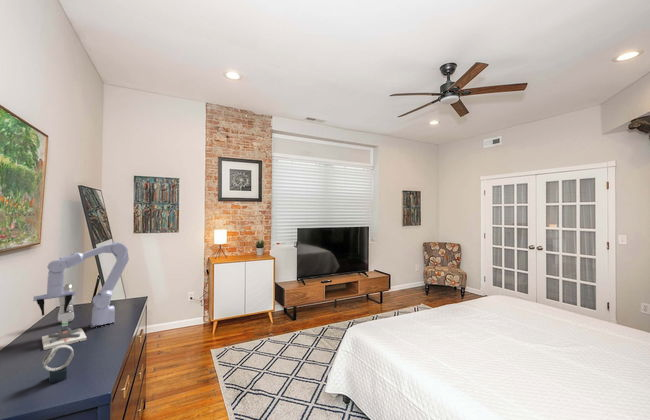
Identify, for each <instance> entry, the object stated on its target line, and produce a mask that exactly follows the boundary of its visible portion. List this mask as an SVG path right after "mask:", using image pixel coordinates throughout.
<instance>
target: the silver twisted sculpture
mask: <svg viewBox="0 0 650 420" xmlns="http://www.w3.org/2000/svg"><path fill="white" fill-rule="evenodd" d="M70 291H74V289H73V285H72V284H71V283H70V284H64V286H63V292H70ZM75 296H76V294H75V295H74V296H72V299H71V301H70V302H69V304H68V307H67V310H66V311H69V310H71V311H72V318H71V319H68V323H69V322H72V321H73V320H74V319H75V312H74V301H75ZM58 301H59V309H58V310H59V311H58V312H63V311H64V305H65V297H58ZM57 321H58V323H59V324H60V323H61V324H62V320H60V321H59V319H58V318H57Z"/></svg>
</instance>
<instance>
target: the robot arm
mask: <svg viewBox="0 0 650 420" xmlns="http://www.w3.org/2000/svg"><path fill="white" fill-rule="evenodd" d="M104 253H105V254H112V255H114V257H115V259H116V261H115V263H114V265H113V267H112V268H111V271H110V273H109V274H108V276H107V278H106V280H105V282H104V284H103V285H102V287H101V289H100V290H99V291H98V292H97V294H96V295H94V296H93V298H92V300H91V301H92V304H93V307H92V309H91V314H92V315H91V323H92V325H93V326H95V325H103V324H107V323H112V322H115V318H116V316H115V315H116V309H115V306H114V305H110V304H111V298H112V296H113V291H114V289H115V286H116V285H117V284H118V281H119V279H120V278H121V275H122V273H123V272H124V271H125V268H126V266H127V264H128V262H129V260H130V257H129V249H128V247H127V245H126V244H124V243H123V242H119V241H113V242H110V243H106V244H103V245H100V246H98V247H95V248H93V249H90V250H88V251H85V252H82V253H81V252H71V254H69V255H66V256H64V257H59V258H58V259H53V260H52V261H50V262H49V263H48V265H47V269H48V275H47V285H46V287H47V288H46V294H41V295H35V296H34V295H33V300H32V301H33V302H36V304H37V305H38V306H39V309H40V311H41V316H42V317H43V316H45V300H52V299H59V297H65V305H64V311H66V310H67V307H68V304H69V302H70V301H71V299H72V296H74V295H75V296H76V291H75V290H73V291H70V292H63V286H64V285H65V284H64V283H65V282H64V281H65V273H64V270H65V269H69V268H71V267H75V266H77V265H80V264H83V263H84V261H85V260H86V259H88V258H92V257H95V256H98V255H100V254H104Z"/></svg>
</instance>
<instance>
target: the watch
mask: <svg viewBox="0 0 650 420" xmlns="http://www.w3.org/2000/svg"><path fill="white" fill-rule="evenodd" d="M59 349H69V350H70V354H69V357H68V358H67V360H66V361H65V363H64V364H62V365H57V366H54V367H50V366H48V364H49V363H50V362H51V361H52V360H53V358H54V357H55V355H56V353H57V351H58V350H59ZM74 355H75V353H74V349H73V347H72V346H71V345H69V344H67V345H60V346H56V347H55V348H51V349H49V351H47V353H46V355H45V356H44V358H43V360H42V362H41V364H42V365H43V368H44V369H45V370H46V371H48V373H49V376H48V379H49V380H48V381H49V383H48V384H49V385H50V384H54V383H57V382H60V380H61V381H65V380H67V373H68V371H67V370H68V367H67V366H68V365H69V364H70V363H71V361H72V360H73V358H74ZM64 379H65V380H64Z"/></svg>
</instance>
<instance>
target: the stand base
mask: <svg viewBox="0 0 650 420" xmlns="http://www.w3.org/2000/svg"><path fill="white" fill-rule="evenodd" d="M87 337H88V336H86V333H85V332H84V330H83V329H82V327H81V328H80V327H79V328H75V329H71V327H66V328H62V329H61V328H60V329H58V332H57V333H50V334H47V335H44V336H43V335H42V336H41V344H42V348H43V351H45V350H51V349H52V348H55V347H56V346H60V345H71V344H75V343H80V342H83V341H87ZM79 341H80V342H79Z"/></svg>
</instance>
